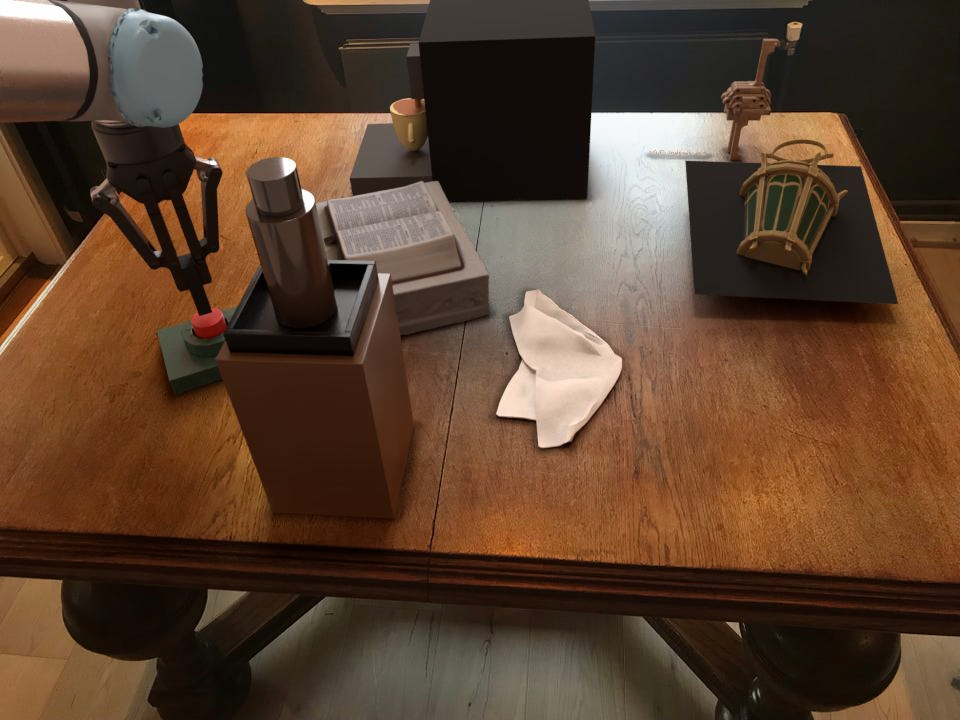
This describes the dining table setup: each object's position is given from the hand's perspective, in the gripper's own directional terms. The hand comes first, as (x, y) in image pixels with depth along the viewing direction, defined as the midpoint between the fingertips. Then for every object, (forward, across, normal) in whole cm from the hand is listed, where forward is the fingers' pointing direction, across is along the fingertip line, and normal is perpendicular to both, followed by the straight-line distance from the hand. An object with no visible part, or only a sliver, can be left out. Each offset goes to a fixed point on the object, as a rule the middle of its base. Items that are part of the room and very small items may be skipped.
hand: (203, 307), depth 88 cm
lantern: (+7, -71, +15) cm, 72 cm away
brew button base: (+7, 0, 0) cm, 7 cm away
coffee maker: (+7, -45, -24) cm, 51 cm away
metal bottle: (-14, -8, +24) cm, 29 cm away
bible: (+7, -24, -4) cm, 25 cm away
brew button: (+3, 0, 0) cm, 3 cm away
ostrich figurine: (+7, -79, -11) cm, 80 cm away
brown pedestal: (+7, -8, +24) cm, 27 cm away
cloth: (+7, -35, +21) cm, 41 cm away
